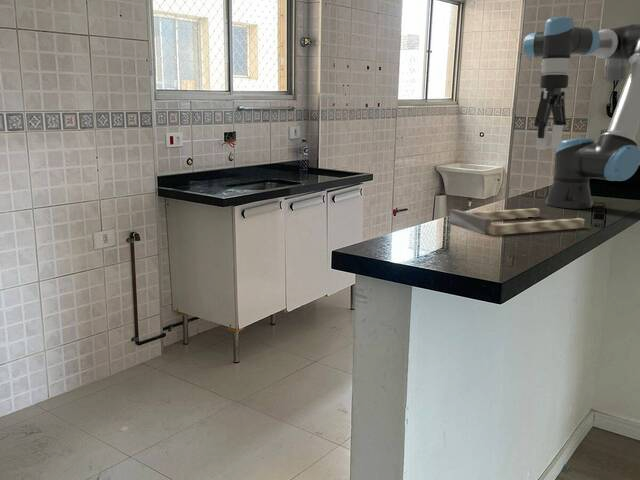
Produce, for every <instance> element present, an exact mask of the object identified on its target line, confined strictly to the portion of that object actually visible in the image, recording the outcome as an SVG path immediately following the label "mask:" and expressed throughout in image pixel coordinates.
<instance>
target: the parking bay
mask: <svg viewBox="0 0 640 480" xmlns="http://www.w3.org/2000/svg"><path fill="white" fill-rule="evenodd" d="M540 210H541V209H540V208H536V207H533V208H532V207H531V208H517V209H501V210H483V211H469V212H467V211H464V210H463V211H462V210H459V209H450V210H449V221H448V222H449V224H450V225H452V226H453V225H454V226H457V227H460V228H462V229H463V228H464V229H467V230H470V231H473V232H475V233H480V234H483V235H492V236H500V235H514V234H525V233H537V232H538V233H539V232H547V231H548V232H551V231H560V230H561V231H563V230H572V229H573V230H574V229H585V218H580V217H576V218H561V219H560V218H559V219H547V220H535V221H532V220H531V221H522V222H521V221H519V222H507V223H495V224H493V223H492V221H501V220H512V219H513V220H517V219H516V218H518V219H529V218H528V217H533V218H540Z"/></svg>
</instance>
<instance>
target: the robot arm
mask: <svg viewBox="0 0 640 480" xmlns="http://www.w3.org/2000/svg"><path fill="white" fill-rule="evenodd" d="M522 48H523V53H524V54H525V56H527V57H529V58H535V59H536V58H542V62H541V63H540V67H541V74H543V75H541V76H540V85H539V87H540V88H541V89H545V90H542V91H541V93H540V98H539V99H540V100H539V105H538V108H537V112H536V115H535V119H534V124H533V125H534V127H537V131H536V142H535V150H538V151H540V150H541V151H546V150H547V142H548V130H549V126H547V125H548V123H549V120H550V117H551V115H552V119H553V123H554V124H553V125H552V131H551V146H550V147H551V148H553V147H554V148H556V150H555V160H554V169H553V180H552V185H551V187H550V189H549V192H548V194H547V196H546V198H545V204H546V205H547V206H549V207H555V208H561V209H562V208H563V209H573V210H574V209H577V210H578V209H579V210H580V209H583V210H584V209H591V208H592V207H593V199H592V194H591V193H592V192H591V188H590V179H598V180H604V181H610V182H611V181H612V182H615V181H616V182H622V181H623V182H624V181H627V180H628V179H630V178H632V177H633V176H634V174H635V173H636V172H637V170H638V168H639V165H640V148H639V147H638V145H639V144H638V141H637V140H636V137H637V133H638V131H639V128H640V23H635V24H634V23H633V24H628V25H622V26H618V27H612V28H603V29H601V30H599V31H597V30H596V29H594V28H590V27H579V26H578V27H577V26H574V18H572V17H568V16H559V17H552V18H547V20H546V21H545V25H544V31H535V32H531V33H529V34H527V35H526V36H525V38H524V40H523V47H522ZM590 56H595V57H597V58H599V59H605V60H606V59H609V60H610V59H611V60H618V61H628V62H629V63H630V65H631V66H630V69H629V72H628V74H627V77H626V80H625V83H624V85H623V88H622V91H621V93H620V96H619V99H618V100H617V101H618V102H617V104H616V107H615V109H614V112H613V115H612V117H611V120H610V122H609V125H608V128H607V131H606V132H604V133H602V134H600V136H599V139H598V141H597V142H595V139H594V138H573V139H564V140H562V138H563V131H564V130H563V127H564V125H565V126H566V125H567V117H566V116H567V115H566V104H565V102H566V101H565V99H566V98H565V94H566V92H565V91H562V89H567V88H568V86H569V75H568V74H569V73H570V68H571V67H570V65H571V57H590Z"/></svg>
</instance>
